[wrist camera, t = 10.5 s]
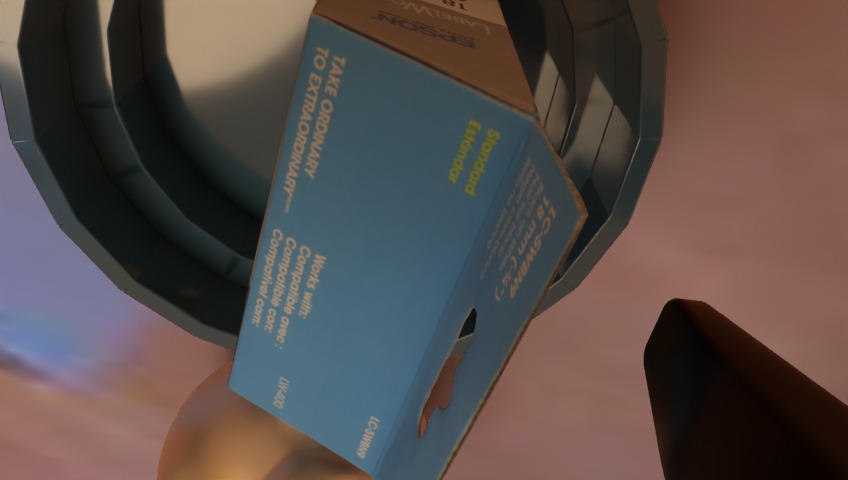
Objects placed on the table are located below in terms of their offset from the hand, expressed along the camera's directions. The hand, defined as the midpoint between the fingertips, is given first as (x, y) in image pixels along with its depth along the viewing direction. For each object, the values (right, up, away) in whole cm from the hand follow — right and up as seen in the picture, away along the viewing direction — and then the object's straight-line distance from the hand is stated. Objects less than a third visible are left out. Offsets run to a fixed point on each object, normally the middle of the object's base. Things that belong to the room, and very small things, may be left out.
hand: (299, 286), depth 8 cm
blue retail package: (0, +5, +12) cm, 13 cm away
